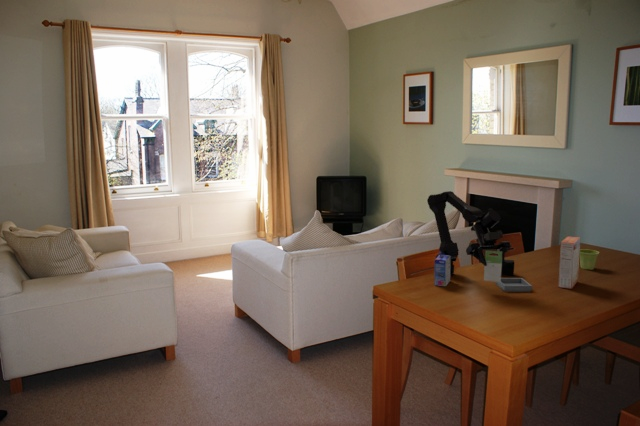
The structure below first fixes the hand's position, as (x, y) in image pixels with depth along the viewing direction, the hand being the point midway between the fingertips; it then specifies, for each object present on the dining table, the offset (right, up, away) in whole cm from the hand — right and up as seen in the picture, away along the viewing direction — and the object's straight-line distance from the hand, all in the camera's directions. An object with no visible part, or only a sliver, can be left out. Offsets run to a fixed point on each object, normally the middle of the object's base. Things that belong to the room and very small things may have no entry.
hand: (494, 265), depth 230 cm
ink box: (0, -7, +3) cm, 7 cm away
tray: (+12, -11, +11) cm, 20 cm away
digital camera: (+14, -8, +32) cm, 35 cm away
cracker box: (+38, -10, +15) cm, 42 cm away
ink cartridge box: (-18, -10, +18) cm, 28 cm away
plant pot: (+60, -6, +42) cm, 73 cm away
